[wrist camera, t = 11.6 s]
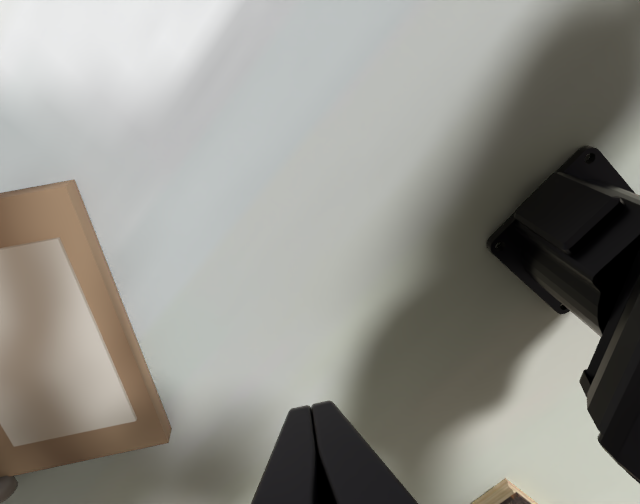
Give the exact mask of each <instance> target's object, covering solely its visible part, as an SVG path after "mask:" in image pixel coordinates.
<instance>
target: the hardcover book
mask: <svg viewBox="0 0 640 504" xmlns="http://www.w3.org/2000/svg"><path fill="white" fill-rule="evenodd" d="M471 504H538V503H536V502H535V501H534V500H532V499H531V498H530V497H529V496H527V495H526V494H525V493H524V492H522V491H521V490H520V489H518V488H517V487H516V486H515V485H513V484H512V483H511V482H509V481H508V480H507V479H506V478H505V479H504V480H502V481H501V482H500V483H498V484H497V485H496V486H494V487H493V488H492V489H490V490H489V491H487V492H486V493H485V494H483V495H482V496H481V497H479V498H478V499H477V500H475V501H474V502H473V503H471Z"/></svg>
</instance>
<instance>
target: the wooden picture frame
mask: <svg viewBox="0 0 640 504" xmlns="http://www.w3.org/2000/svg"><path fill="white" fill-rule="evenodd" d="M171 429H172V428H171V426H170V423H169V421H168V418H167V416H166V413H165V410H164V408H163V405H162V403H161V400H160V398H159V395H158V393H157V390H156V387H155V385H154V382H153V380H152V377H151V375H150V372H149V369H148V367H147V364H146V362H145V359H144V357H143V354H142V352H141V349H140V346H139V344H138V341H137V339H136V336H135V334H134V331H133V328H132V326H131V323H130V321H129V318H128V316H127V313H126V311H125V308H124V305H123V303H122V300H121V298H120V295H119V293H118V290H117V287H116V285H115V282H114V280H113V277H112V275H111V272H110V269H109V267H108V264H107V262H106V259H105V257H104V254H103V252H102V249H101V246H100V244H99V241H98V239H97V236H96V234H95V231H94V228H93V226H92V223H91V221H90V218H89V216H88V213H87V211H86V208H85V205H84V203H83V200H82V198H81V195H80V193H79V190H78V187H77V185H76V182H75V180H69V181H64V182H58V183H53V184H48V185H42V186H37V187H31V188H26V189H20V190H15V191H9V192H4V193H0V503H2V502H3V501H5V500H6V499H8V498H9V497H10V496H11V495H12V494H13V493H14V491H15V490H16V488H17V486H18V482H17V480H16V479H15V477H14V476H15V475H20V474H24V473H29V472H34V471H38V470H43V469H48V468H52V467H57V466H62V465H67V464H71V463H76V462H81V461H85V460H90V459H95V458H99V457H104V456H109V455H113V454H118V453H123V452H128V451H132V450H137V449H142V448H146V447H151V446H156V445H160V444H165V443H168V442H169V438H170V433H171Z"/></svg>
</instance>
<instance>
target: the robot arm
mask: <svg viewBox="0 0 640 504" xmlns="http://www.w3.org/2000/svg"><path fill="white" fill-rule="evenodd" d="M588 154H590V157H589V159H588V160H587V161H585V157H586V156H587V155H588ZM501 241H502V242H501ZM498 242H501V245H500V246H499V247H497V248H495V246H496V244H497V243H498ZM487 248H488V250H489V251H490V252H491V253H492V254H493V255H495V256H496V257H497V258H498V259H499V260H500V261H501V262H502V263H503V264H504V265H506V266H507V267H508V268H509V269H510V270H511V271H512V272H513V273H514V274H515V275H517V276H518V277H519V278H520V279H521V280H522V281H523V282H524V283H525V284H526V285H528V286H529V287H530V288H531V289H532V290H533V291H534V292H535V293H536V294H537V295H539V296H540V297H541V298H542V299H543V300H544V301H545V302H546V303H547V304H548V305H550V306H551V307H552V308H553V309H554V310H555V311H556V312H557V313H559V314H565V313H567V312H569V311H571V312H572V313H574V314H575V315H576V316H577V317H578V318H579V319H581V320H582V321H583V322H584V323H585V324H587V325H588V326H589V327H590V328H591V329H592V330H594V331H595V332H596V333H597V334H598V335H600V336H601V339H600V341H599V344H598V346H597V348H596V351H595V353H594V355H593V358H592V360H591V362H590V365H589V367H588V369H586V370H584V371H583V374H582V376H581V378H580V384H581V386H582V388H583V391H584V393H585V395H586V397H587V410H588V412H589V413H590V415H591V417H592V419H593V421H594V423H595V425H596V427H597V429H598V430H599V431H600V434H599V436H598V441H599V443H600V444H601V446H602V447H603V449H604V450H605V451H606V452H607V453H608V454H609V455H610V456H611V457H612V458H613V459H614V460H615V461H616V462H617V463H618V464H619V465H620V466H621V467H622V468H623V469H625V471H626V472H627V473H628V474H629V475H631V476H632V477H633V478H634V479H635V480H636V481H637V482H638V483H640V195H637V194H635V193H634V191H633V190H632V189H631V188H630V187H629V185H628V184H627V183H626V182H625V181H624V179H623V178H622V177H621V176H620V175H619V174H618V172H617V171H616V170H615V169H614V168H613V166H612V165H611V164H610V163H609V162H608V160H607V159H606V158H605V157H604V156H603V154H602V153H601V152H600V151H599V150H598V149H597V148H594V147H591V146H584V147H582V148H580V149H579V150H578V151H577V152H576V153H575V154H574V155H573V156H572V157H571V158H570V159H569V160H568V161H567V162H566V163H565V164H564V165H563V166H562V167H561V168H560V169H559V170H558V171H557V172H556V173H553V174H552V175H551V176H550V177H549V178H548V179H547V180H546V181H545V182H544V183H543V184H542V185H541V186H540V187H539V188H538V189H537V190H536V191H535V192H534V193H533V194H532V195H531V196H530V197H529V198H528V199H527V200H526V201H525V202H524V203H523V204H522V205H521V206H520V207H519V208H518V209H517V210H516V211H515V213H514V214H513V215H512V216H511V217H510V218H509V219H508V220H507V221H506V222H505V223H504V224H503V225H502V226H501V227H500V228H499V229H498V230H497V231H496V232H495V233H494V234H493V235H492V236H491V237H490V238H489V240H488V241H487ZM561 304H563V305H561ZM560 305H561V306H560ZM251 504H418V503H417V501H416V500H415V499H414V498H413V497H412V496H411V494H410V493H409V492H408V491H407V490H406V488H405V487H404V486H403V485H402V484H401V482H400V481H399V480H398V479H397V478H396V477H395V475H394V474H393V473H392V472H391V471H390V469H389V468H388V467H387V466H386V465H385V463H384V462H383V461H382V460H381V459H380V458H379V456H378V455H377V454H376V453H375V452H374V450H373V449H372V448H371V447H370V446H369V444H368V443H367V442H366V441H365V440H364V439H363V437H362V436H361V435H360V434H359V433H358V431H357V430H356V429H355V428H354V427H353V426H352V424H351V423H350V422H349V421H348V420H347V418H346V417H345V416H344V415H343V414H342V412H341V411H340V410H339V409H338V408H337V407H336V405H335V404H334V403H333V402H332V401H325V402H320V403H316V404H313V405H312V407H310V406H308V405H306V406H302V407H297V408H292V409H291V410H290V411H289V412H288V415H287V417H286V419H285V422H284V424H283V427H282V429H281V432H280V434H279V437H278V439H277V442H276V444H275V446H274V449H273V451H272V454H271V456H270V459H269V461H268V464H267V466H266V468H265V471H264V473H263V476H262V478H261V481H260V483H259V486H258V488H257V491H256V493H255V495H254V498H253V500H252V503H251Z"/></svg>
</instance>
